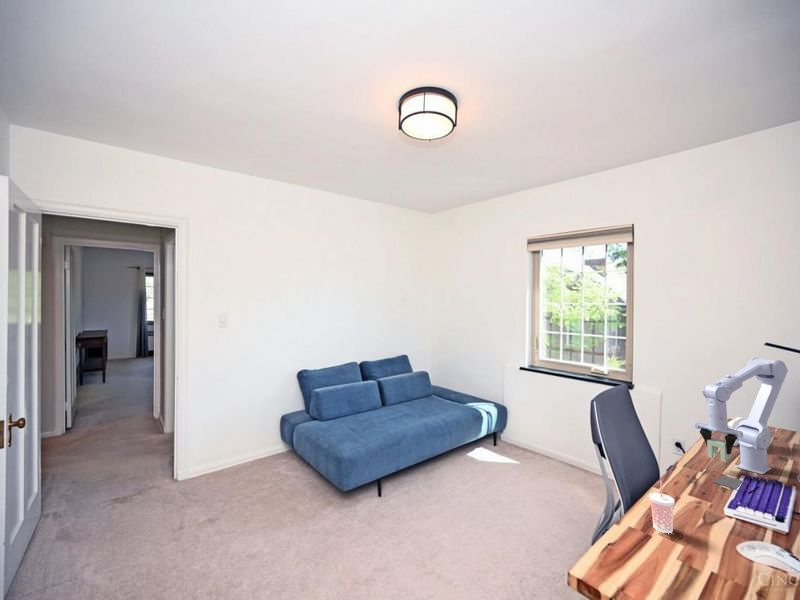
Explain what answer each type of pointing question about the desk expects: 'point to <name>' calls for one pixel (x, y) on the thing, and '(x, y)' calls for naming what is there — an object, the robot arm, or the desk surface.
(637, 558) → the desk surface
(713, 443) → the slotted sage cube
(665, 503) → the beverage cup
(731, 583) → the desk surface
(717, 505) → the desk surface
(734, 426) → the cable organizer
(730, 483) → the felt pad
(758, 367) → the robot arm
